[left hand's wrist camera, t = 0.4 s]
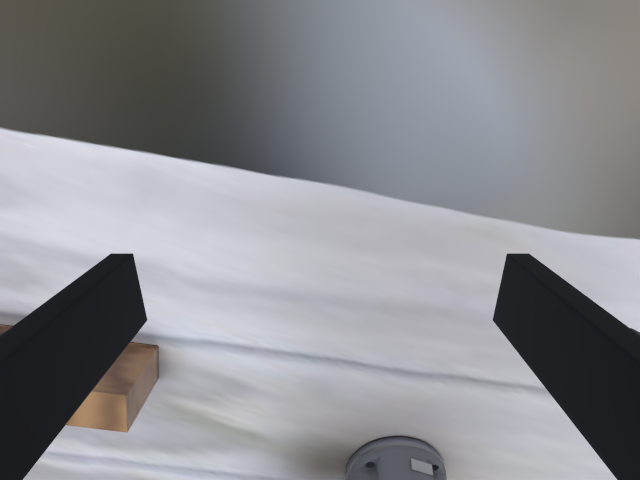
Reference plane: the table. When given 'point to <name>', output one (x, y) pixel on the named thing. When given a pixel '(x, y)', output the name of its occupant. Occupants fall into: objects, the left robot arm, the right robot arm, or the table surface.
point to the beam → (118, 390)
